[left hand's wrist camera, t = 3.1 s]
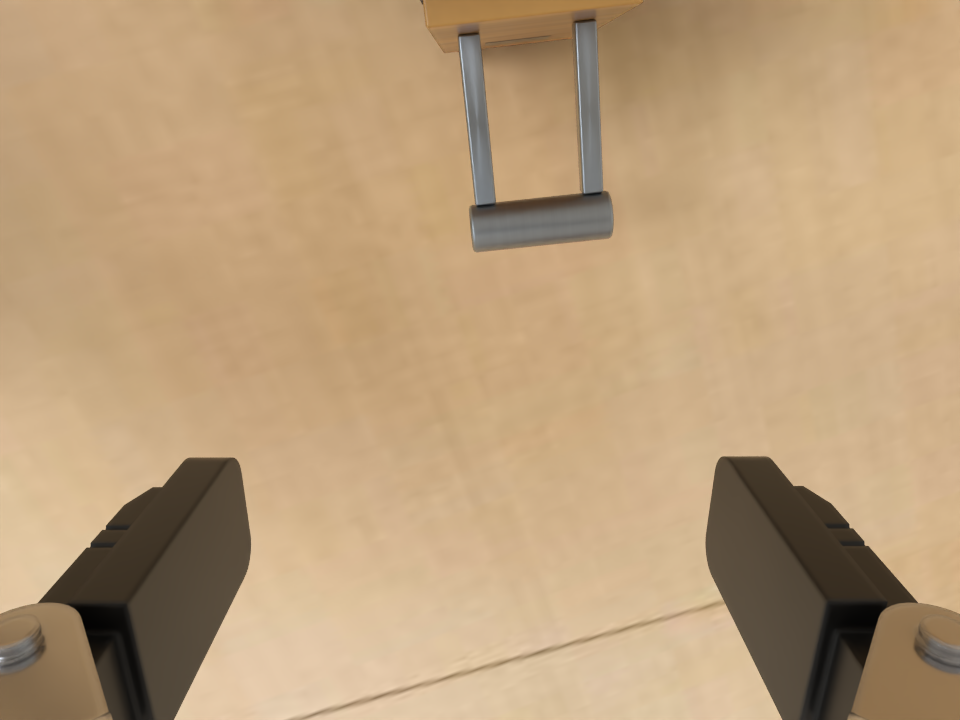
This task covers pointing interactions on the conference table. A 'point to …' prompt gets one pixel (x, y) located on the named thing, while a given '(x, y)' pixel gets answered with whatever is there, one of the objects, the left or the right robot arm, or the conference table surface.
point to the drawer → (469, 28)
